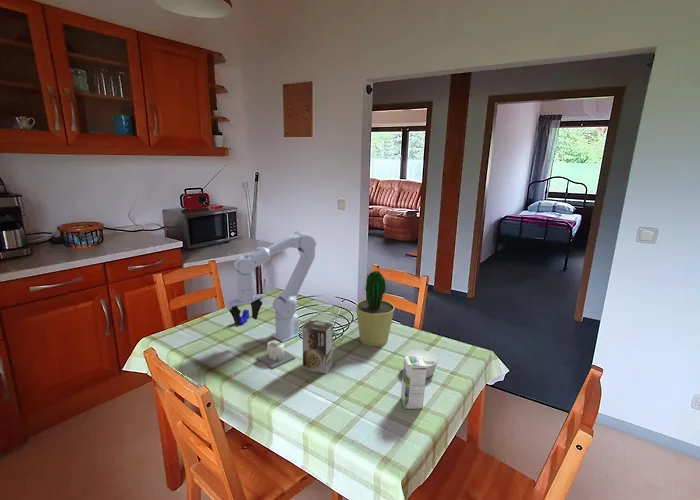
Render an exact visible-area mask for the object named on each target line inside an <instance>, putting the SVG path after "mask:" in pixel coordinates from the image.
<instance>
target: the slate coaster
mask: <svg viewBox="0 0 700 500" xmlns="http://www.w3.org/2000/svg"><path fill="white" fill-rule="evenodd" d="M256 359H257V360H258V361H260V362H262V363H263V364H264V365H266V366H268V367H269V368H271V369H272V370H274V369H276V368H278V367H281V366H282V365H284V364H287V363H289V362H291V361H293V360H295V359H296V356H294V355H293V354H290V353H289V352H288V351H286V350H284V359H283V360H281V361H276V360H274V359H271V358H269V357H268V356H267V352H265V353H263V354H260V355H258V356H256Z"/></svg>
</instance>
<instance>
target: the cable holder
mask: <svg viewBox="0 0 700 500" xmlns="http://www.w3.org/2000/svg"><path fill="white" fill-rule="evenodd" d="M249 318H250V309H243V311H242V315H241V314H240V317H239V319H240V325H239V326H243V325H245V324H246V323H247V322H248V320H249Z"/></svg>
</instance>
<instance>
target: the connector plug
mask: <svg viewBox="0 0 700 500" xmlns="http://www.w3.org/2000/svg"><path fill="white" fill-rule="evenodd" d="M266 346H267V347H266V349H267V352H266V353H267V356H268V357H269V358H271V359H274V360H276V361H281V360H283V359H284V351H285V344H284V343H281V341H280V340H275V339H274V340H271V341H268V342H267V343H266Z"/></svg>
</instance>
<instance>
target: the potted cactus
mask: <svg viewBox="0 0 700 500" xmlns="http://www.w3.org/2000/svg"><path fill="white" fill-rule="evenodd" d="M385 279H386V278H385V276H384V275H383V273H381V271H380V270H372V271H370V272H369V273H368V274H367V276H366V280H364V282H365V283H364V284H365V286H364V288H363V290H364V291H365V292H364V295H366V299H363V300H359V301H358V302H357V303H356V305H355V306H356V315H357V324H358V327H357V328H358V335H359V340H360V342H361V343H362V344H363V345H366V346H369V347H381V346H384V345H386V344H387V343H388V341H389V340H388V339H389V336H390V331H391V325H392V322H393V321H392V320H393V316H394V311H395V308H396V307H395V305H394V304H393V303H392V302H390V301H387V300H384V298H385V293H386V291H387V288H388V287H387V286H388V285H387V284H388V282H387V281H386V280H385Z"/></svg>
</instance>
